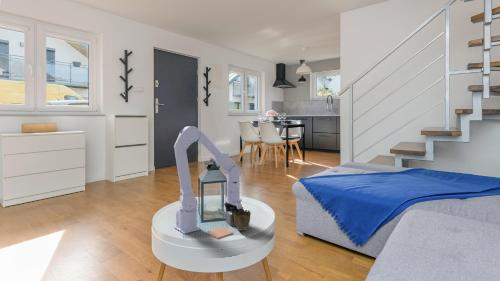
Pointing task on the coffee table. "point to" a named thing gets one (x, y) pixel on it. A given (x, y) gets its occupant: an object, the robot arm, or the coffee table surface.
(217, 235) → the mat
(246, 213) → the cup
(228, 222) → the letter block
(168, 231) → the coffee table surface
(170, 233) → the coffee table surface
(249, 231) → the coffee table surface
